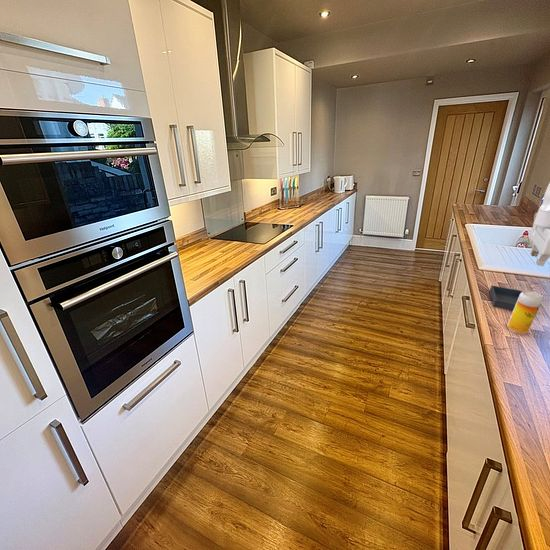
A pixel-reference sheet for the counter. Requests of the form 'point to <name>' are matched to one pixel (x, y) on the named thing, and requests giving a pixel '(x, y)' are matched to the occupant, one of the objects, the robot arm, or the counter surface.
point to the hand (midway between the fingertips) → (536, 260)
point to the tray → (504, 297)
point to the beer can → (524, 312)
